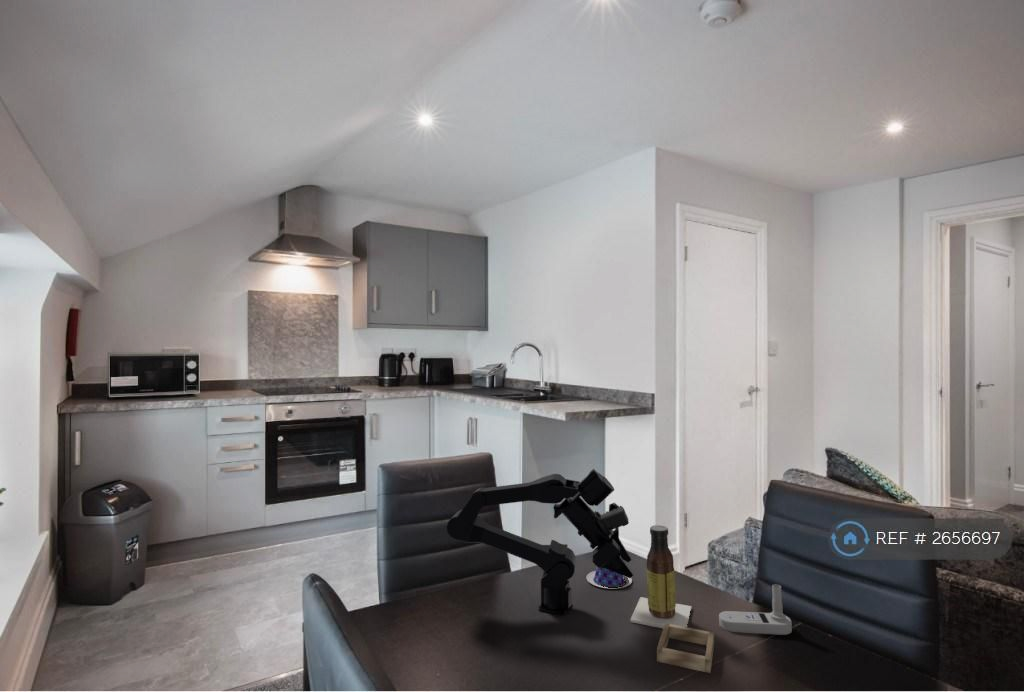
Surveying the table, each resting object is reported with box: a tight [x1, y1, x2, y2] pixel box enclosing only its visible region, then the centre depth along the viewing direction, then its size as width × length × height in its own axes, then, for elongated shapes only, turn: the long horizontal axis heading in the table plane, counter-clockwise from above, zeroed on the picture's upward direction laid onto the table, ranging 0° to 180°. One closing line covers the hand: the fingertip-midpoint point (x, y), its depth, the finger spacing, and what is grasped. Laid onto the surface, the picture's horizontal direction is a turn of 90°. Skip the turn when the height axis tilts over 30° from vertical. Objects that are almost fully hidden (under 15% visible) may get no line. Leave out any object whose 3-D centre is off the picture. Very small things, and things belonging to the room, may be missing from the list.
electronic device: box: [718, 584, 793, 636], centre depth 122 cm, size 5×10×15 cm
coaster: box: [630, 596, 692, 629], centre depth 128 cm, size 12×12×1 cm
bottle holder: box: [656, 623, 715, 674], centre depth 112 cm, size 10×11×2 cm
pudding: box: [586, 566, 633, 590], centre depth 147 cm, size 12×12×5 cm
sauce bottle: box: [646, 524, 677, 618], centre depth 128 cm, size 7×6×20 cm
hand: (630, 568), depth 129 cm, fingers open, 9 cm apart
